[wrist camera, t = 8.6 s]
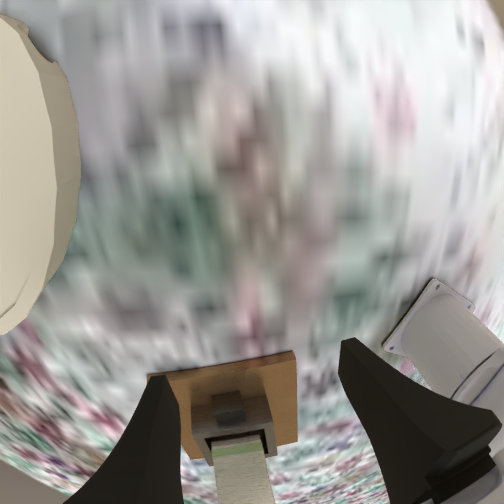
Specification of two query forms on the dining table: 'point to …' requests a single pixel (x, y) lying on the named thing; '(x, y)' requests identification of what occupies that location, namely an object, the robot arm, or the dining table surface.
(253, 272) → the dining table surface
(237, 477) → the grayish brown rectangular block
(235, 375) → the stand base
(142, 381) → the dining table surface
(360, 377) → the robot arm
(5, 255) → the ashtray
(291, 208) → the dining table surface
